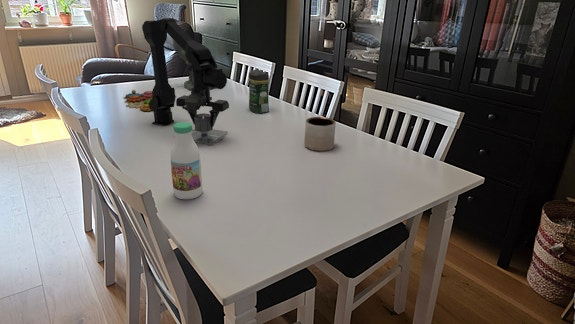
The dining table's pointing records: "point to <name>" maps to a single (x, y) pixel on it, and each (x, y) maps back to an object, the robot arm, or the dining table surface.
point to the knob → (203, 122)
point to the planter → (319, 133)
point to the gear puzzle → (139, 100)
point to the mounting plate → (208, 136)
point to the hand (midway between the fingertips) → (203, 125)
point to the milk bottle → (185, 163)
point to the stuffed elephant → (181, 53)
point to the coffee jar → (258, 91)
